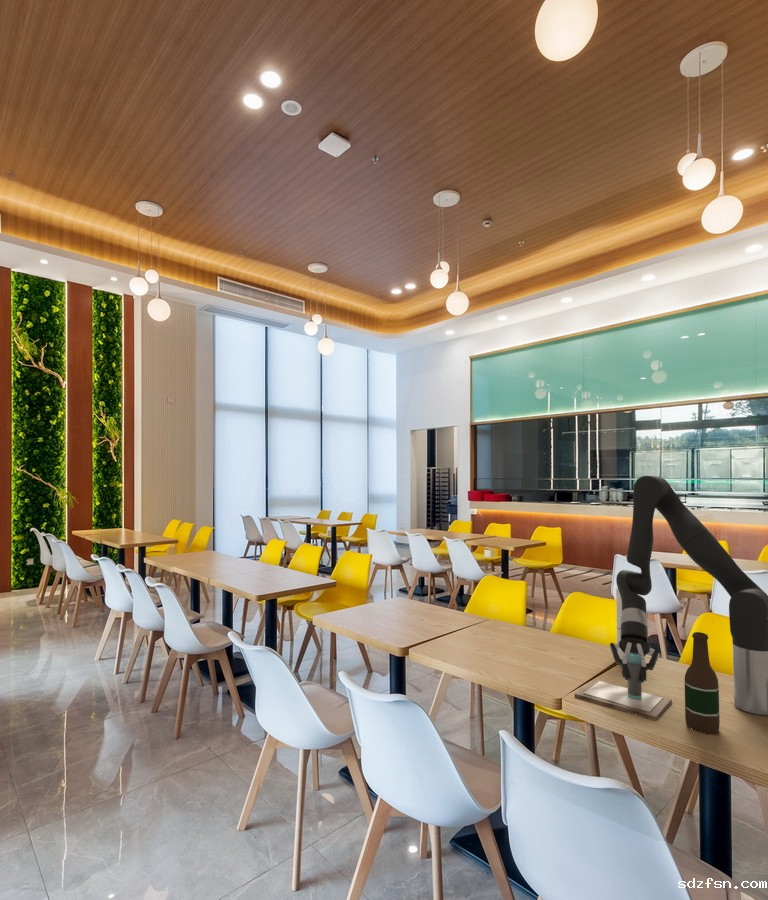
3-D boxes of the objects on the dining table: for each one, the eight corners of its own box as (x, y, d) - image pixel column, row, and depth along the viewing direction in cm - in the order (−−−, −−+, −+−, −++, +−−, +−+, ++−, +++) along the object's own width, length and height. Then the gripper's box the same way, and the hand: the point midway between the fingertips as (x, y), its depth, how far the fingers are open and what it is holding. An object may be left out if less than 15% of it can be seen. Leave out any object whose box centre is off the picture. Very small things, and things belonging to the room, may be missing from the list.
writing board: (671, 702, 151) (671, 698, 151) (656, 720, 139) (655, 715, 139) (594, 682, 166) (594, 678, 166) (574, 696, 154) (574, 692, 154)
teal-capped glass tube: (643, 697, 151) (642, 654, 152) (639, 700, 148) (639, 657, 149) (629, 693, 154) (629, 651, 155) (625, 697, 151) (625, 654, 152)
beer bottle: (715, 723, 138) (713, 631, 139) (724, 737, 130) (721, 639, 132) (682, 719, 140) (680, 628, 142) (688, 731, 133) (686, 635, 134)
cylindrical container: (642, 662, 186) (641, 590, 187) (622, 661, 186) (621, 590, 187) (633, 655, 193) (632, 586, 194) (613, 655, 193) (612, 586, 194)
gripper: (608, 617, 162) (606, 669, 151) (660, 623, 156) (662, 678, 144) (609, 630, 167) (608, 682, 155) (659, 636, 160) (662, 691, 149)
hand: (634, 679), depth 150 cm, fingers closed on teal-capped glass tube, 3 cm apart
